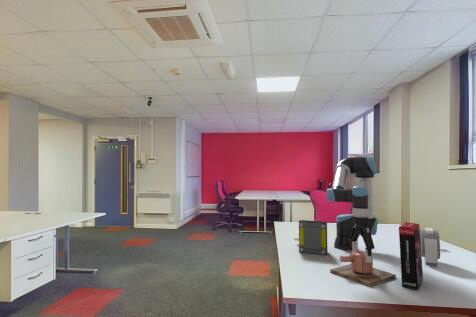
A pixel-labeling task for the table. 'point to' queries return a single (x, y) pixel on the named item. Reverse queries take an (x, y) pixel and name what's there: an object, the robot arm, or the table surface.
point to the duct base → (363, 275)
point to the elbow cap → (358, 262)
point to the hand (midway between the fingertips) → (361, 258)
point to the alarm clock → (430, 246)
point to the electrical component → (313, 237)
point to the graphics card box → (410, 255)
